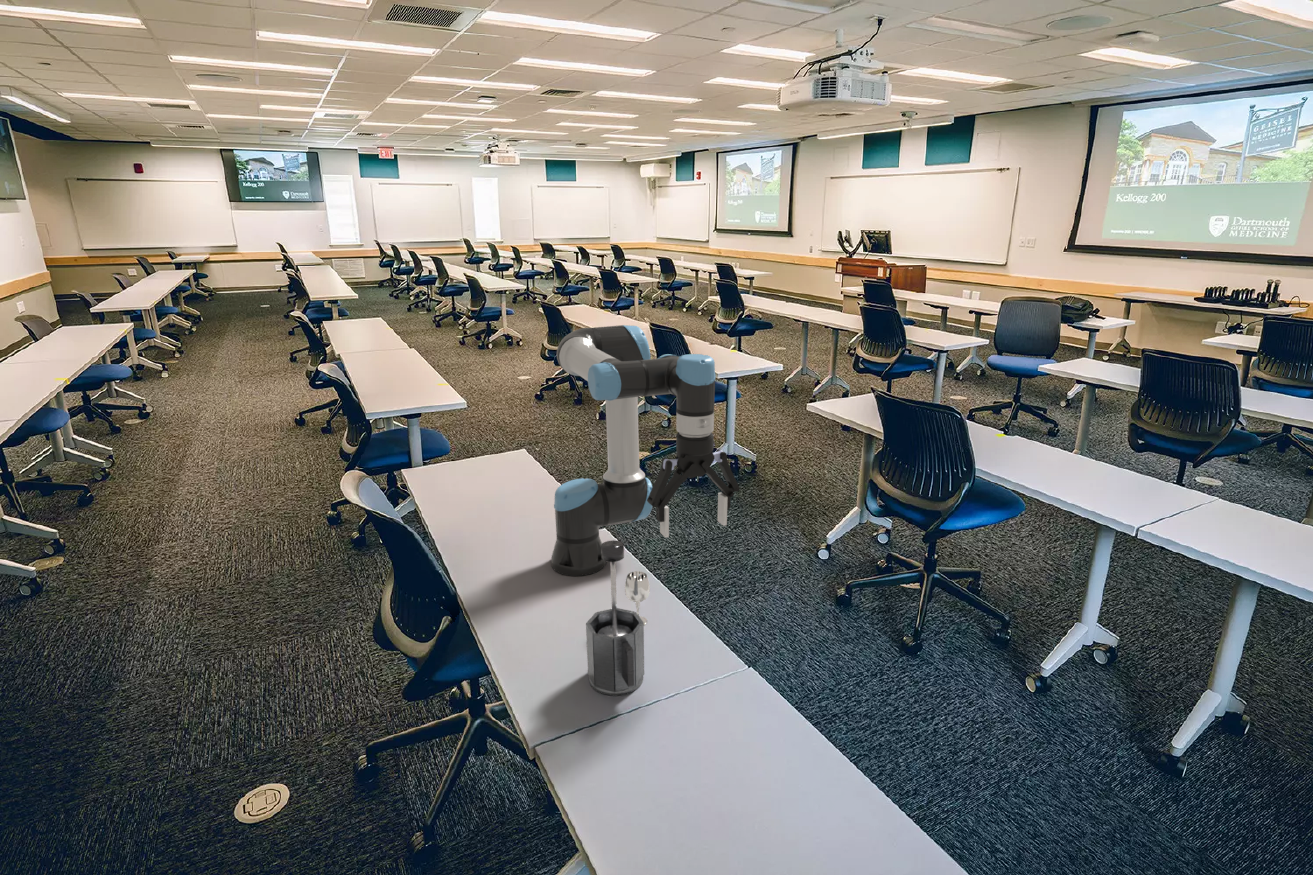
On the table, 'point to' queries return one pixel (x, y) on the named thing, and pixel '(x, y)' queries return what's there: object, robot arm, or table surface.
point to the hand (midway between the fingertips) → (693, 529)
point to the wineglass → (637, 589)
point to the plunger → (613, 586)
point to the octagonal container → (615, 653)
